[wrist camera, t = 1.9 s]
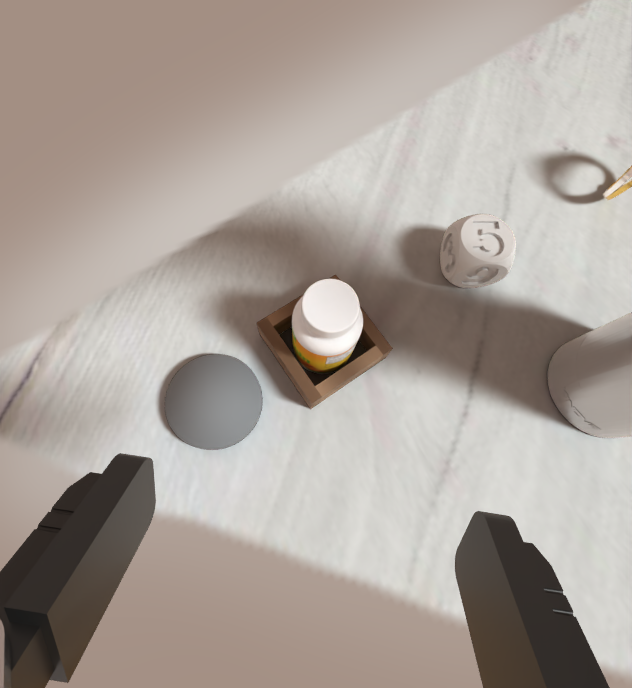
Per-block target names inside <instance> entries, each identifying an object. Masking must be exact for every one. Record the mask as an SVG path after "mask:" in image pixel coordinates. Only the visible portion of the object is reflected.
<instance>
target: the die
mask: <svg viewBox="0 0 632 688" xmlns="http://www.w3.org/2000/svg"><path fill="white" fill-rule="evenodd" d="M515 252H516V242H515V236H514V233H513V231H512V230H511V228H510V227H509V226H508V225H507V224H506V223H505V222H504V221H503V220H501V219H499V218H497V217H495V216H492V215H489V214H476V215H471V216H467V217H464V218H461V219H459V220H457V221H456V222H454V223H453V224H451V225H450V226H449V227H448V228H447V230H446V231H445V233H444V236H443V239H442V243H441V249H440V265H441V270H442V273H443V275H444V277H445V278H446V279H447V280H448V281H449V282H451V283H452V284H454V285H455V286H458V287H462V288H477V287H483V286H487V285H490V284H493V283H496V282H498V281H500V280H501V279H503V278H504V277H505V276H506V275H507V274H508V273H509V271H510V269H511V267H512V265H513V262H514V258H515Z"/></svg>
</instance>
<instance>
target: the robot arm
mask: <svg viewBox="0 0 632 688" xmlns="http://www.w3.org/2000/svg"><path fill="white" fill-rule="evenodd" d="M548 386H549V390H550V394H551V397H552V399H553V401H554V403H555V405H556V407H557V408H558V409H559V411H560V412H561V414H562V415H563V416H564V417H565V418H566V419H567V420H568V421H569V422H570V423H571V424H572V425H574V426H575V427H577V428H578V429H580V430H581V431H583V432H586V433H588V434H590V435H593V436H597V437H601V438H619V437H630V436H632V312H631V313H629V314H627V315H625V316H623V317H621V318H618V319H616V320H614V321H612V322H610V323H608V324H606V325H603V326H601V327H599V328H597V329H594V330H592V331H590V332H588V333H586V334H584V335H582V336H580V337H577V338H575V339H573V340H571V341H569V342H567V343H565V344H564V345H563V346H561V347H560V348H559V349H558V350H557V351H556V352H555V354H554V355H553V357H552V359H551V361H550V363H549V368H548ZM155 503H156V498H155V484H154V469H153V461H152V459H151V458H147V457H141V456H134V455H128V454H121V453H120V454H118V455H116V456H115V457H114V459H113V460H112V461H111V462H110V464H109V465H108V466H107V468H106V469H105V471H104V472H103V473H102V474H99V473H92V472H90V473H89V474H87V475H86V476H84V477H83V478H81V479H80V480H79V481H77V482H76V483H74V484H73V485H71V486H70V487H69V488H68V489H67V490H66V491H65V492H64V494H63V495H62V496H61V497H60V499H59V500H58V501H57V502H56V504H55V505H54V506H53V507H52V510H51V512H48V513H47V515H46V516H45V517H44V518H43V520H42V521H41V522H40V523H39V525H38V528H37V529H35V530H34V531H33V532H32V533H31V534H30V536H29V537H28V538H27V539H26V541H25V542H24V543H23V544H22V546H21V547H20V548H19V549H18V551H17V552H16V553H15V554H14V555H13V557H12V558H11V559H10V560H9V562H8V563H7V564H6V566H5V567H4V568H3V569H2V570H1V572H0V688H45V687H46V685H47V683H48V681H49V680H54V681H60V682H67V683H68V682H69V680H70V678H71V676H72V674H73V672H74V671H75V669H76V667H77V665H78V663H79V661H80V659H81V657H82V655H83V653H84V651H85V649H86V647H87V645H88V643H89V642H90V640H91V638H92V636H93V634H94V632H95V630H96V628H97V626H98V624H99V622H100V620H101V618H102V616H103V615H104V613H105V611H106V609H107V607H108V605H109V603H110V601H111V599H112V597H113V595H114V593H115V591H116V589H117V588H118V586H119V584H120V582H121V580H122V578H123V576H124V574H125V572H126V570H127V568H128V566H129V564H130V562H131V560H132V559H133V557H134V555H135V552H136V551H137V549H138V547H139V545H140V543H141V541H142V539H143V537H144V535H145V533H146V531H147V530H148V527H149V525H150V523H151V520H152V517H153V514H154V510H155ZM455 573H456V579H457V583H458V587H459V591H460V595H461V599H462V603H463V607H464V611H465V615H466V619H467V623H468V627H469V632H470V636H471V640H472V644H473V648H474V652H475V656H476V660H477V664H478V668H479V672H480V676H481V680H482V684H483V688H609V686H608V684H607V682H606V679H605V677H604V675H603V673H602V671H601V669H600V667H599V665H598V663H597V661H596V658H595V656H594V654H593V652H592V650H591V648H590V646H589V644H588V642H587V640H586V637H585V635H584V633H583V631H582V629H581V627H580V625H579V623H578V621H577V619H576V617H574V616H573V610H572V608H571V606H570V604H569V602H568V600H567V598H566V596H565V595H563V589H562V587H561V585H560V583H559V581H558V579H557V577H556V574H555V572H554V570H553V568H552V566H551V565H550V564H549V562H548V561H547V560H546V559H545V558H544V556H543V555H542V554H541V553H540V552H539V550H538V549H537V548H536V547H535V546H534V544H532V543H526V542H523V540H522V538H521V535H520V533H519V531H518V528H517V526H516V524H515V522H514V520H513V519H512V518H511V517H509V516H506V515H499V514H493V513H487V512H480V511H477V512H475V513H474V515H473V517H472V519H471V521H470V523H469V525H468V527H467V529H466V532H465V534H464V536H463V538H462V540H461V542H460V544H459V546H458V549H457V552H456V556H455Z"/></svg>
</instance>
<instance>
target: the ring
mask: <svg viewBox="0 0 632 688" xmlns="http://www.w3.org/2000/svg"><path fill="white" fill-rule="evenodd" d="M631 177H632V166H631V167H630V168H629V169H628V170H627V171H626V172H625V173H624V174H623V175H622V176H621V177H620V178H619V179H618V180H617V181H616V182H614V183H613V184H612V185H611V186H610V187H609V188H608V189H607V190H605V192H604V193H603V194H602V195H603V196H604V197H605V198H606V199H607V200H610V199H612V198H614V197H616V196H617V195H619V194H621V193H622V192H624V191H626V190H627V189H629V188H630V187H632V180H630V181H629V182H627V183H626V184H624V183H625V182H626V181H627V180H629V179H630V178H631ZM623 184H624V185H623ZM622 185H623V186H622Z"/></svg>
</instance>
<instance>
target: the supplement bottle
mask: <svg viewBox="0 0 632 688" xmlns="http://www.w3.org/2000/svg"><path fill="white" fill-rule="evenodd" d="M362 328H363V315H362V311H361V309H360V305H359V299H358V297H357V294H356V293H355V291H354V290H353V289H352V288H351V287H350V286H349V285H348V284H346V283H345V282H343V281H340V280H337V279H323V280H319V281H317V282H315V283H314V284H312V285H311V286H310V287H309V288H308V289H307V290H306V292H305V293H304V295H303V296H302V297H301V298H300V300H299V301H298V302H297V304H296V306H295V308H294V310H293V315H292V336H293V350H294V354H295V357H296V359H297V360H298V362H299V363H300V364H301V365H302V366H303V367H304V368H305V369H307V370H309V371H311V372H313V373H317V374H328V373H332V372H335V371H337V370H339V369H340V368H342V367H343V366H344V365H345V364H346V363H347V361H348V360H349V358H350V356H351V354H352V352H353V350H354V348H355V346H356V343H357V341H358V339H359V337H360V335H361V332H362Z"/></svg>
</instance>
